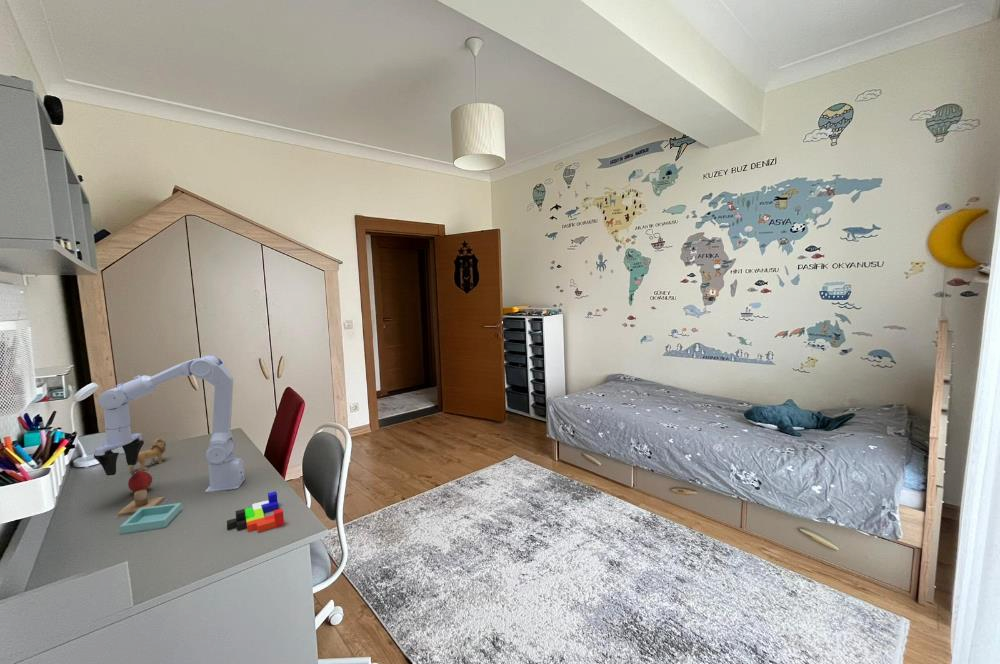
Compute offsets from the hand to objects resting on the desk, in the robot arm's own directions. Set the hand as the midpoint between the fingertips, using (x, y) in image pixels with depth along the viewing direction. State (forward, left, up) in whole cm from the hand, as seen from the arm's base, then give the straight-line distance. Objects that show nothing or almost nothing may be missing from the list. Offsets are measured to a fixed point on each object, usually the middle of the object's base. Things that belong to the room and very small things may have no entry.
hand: (121, 469), depth 127 cm
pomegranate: (-2, -5, -10) cm, 11 cm away
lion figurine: (+7, -30, -10) cm, 33 cm away
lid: (-8, +8, -10) cm, 15 cm away
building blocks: (-42, +26, -11) cm, 51 cm away
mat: (-8, +8, -10) cm, 15 cm away
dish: (-15, +18, -10) cm, 26 cm away
